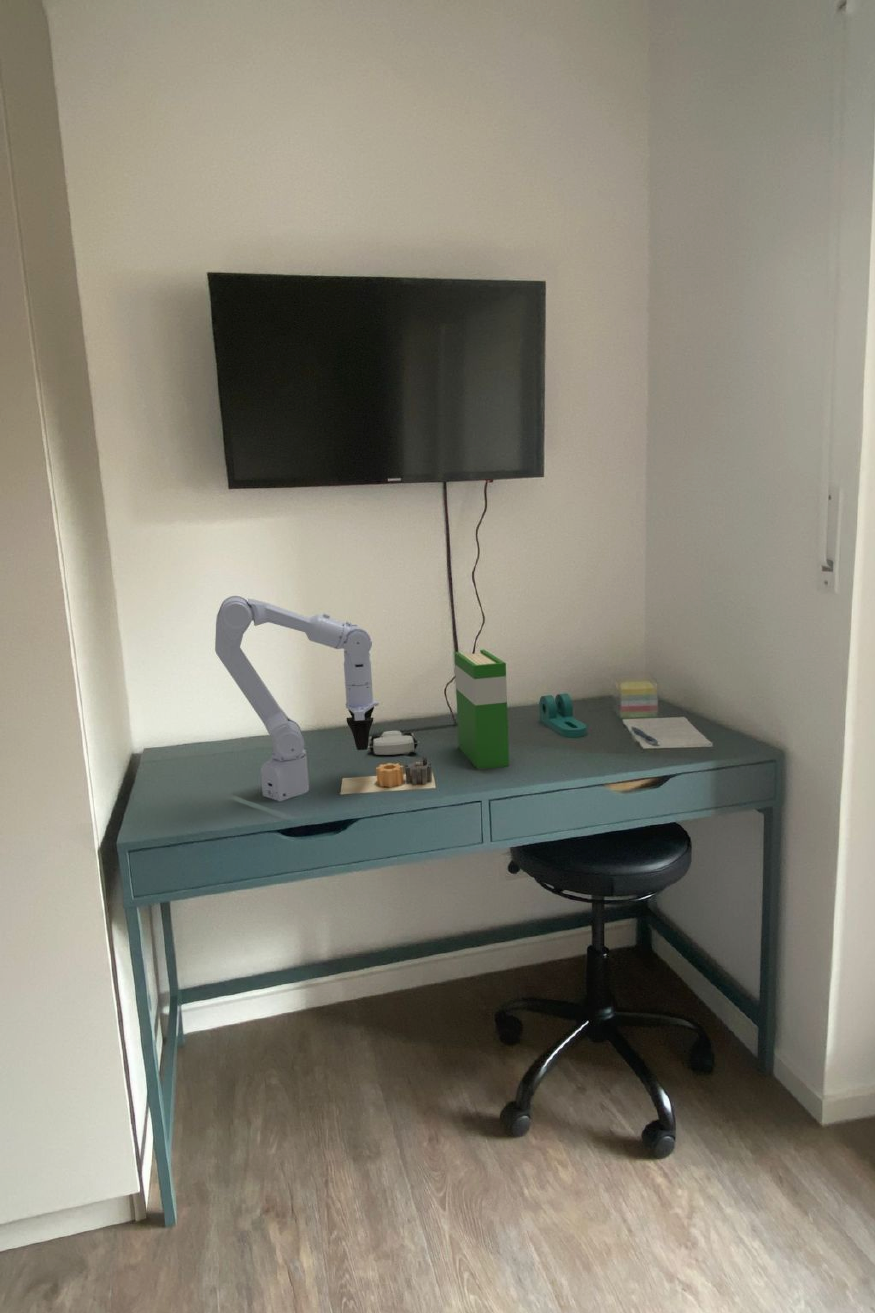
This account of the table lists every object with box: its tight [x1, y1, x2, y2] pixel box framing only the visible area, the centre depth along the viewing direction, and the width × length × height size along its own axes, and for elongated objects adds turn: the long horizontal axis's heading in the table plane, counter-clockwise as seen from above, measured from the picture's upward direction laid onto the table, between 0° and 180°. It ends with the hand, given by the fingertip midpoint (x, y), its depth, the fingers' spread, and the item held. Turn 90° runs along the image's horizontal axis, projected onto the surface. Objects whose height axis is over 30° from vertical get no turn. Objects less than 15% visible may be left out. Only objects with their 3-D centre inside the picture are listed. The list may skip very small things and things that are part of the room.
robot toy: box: [367, 730, 420, 756], centre depth 201 cm, size 12×4×15 cm
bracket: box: [539, 692, 587, 739], centre depth 213 cm, size 18×7×8 cm, turn 14°
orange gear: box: [375, 762, 404, 787], centre depth 176 cm, size 6×6×4 cm
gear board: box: [340, 756, 437, 795], centre depth 176 cm, size 20×10×6 cm, turn 94°
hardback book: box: [454, 649, 510, 771], centre depth 192 cm, size 18×7×24 cm, turn 13°
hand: (362, 744), depth 177 cm, fingers open, 7 cm apart
